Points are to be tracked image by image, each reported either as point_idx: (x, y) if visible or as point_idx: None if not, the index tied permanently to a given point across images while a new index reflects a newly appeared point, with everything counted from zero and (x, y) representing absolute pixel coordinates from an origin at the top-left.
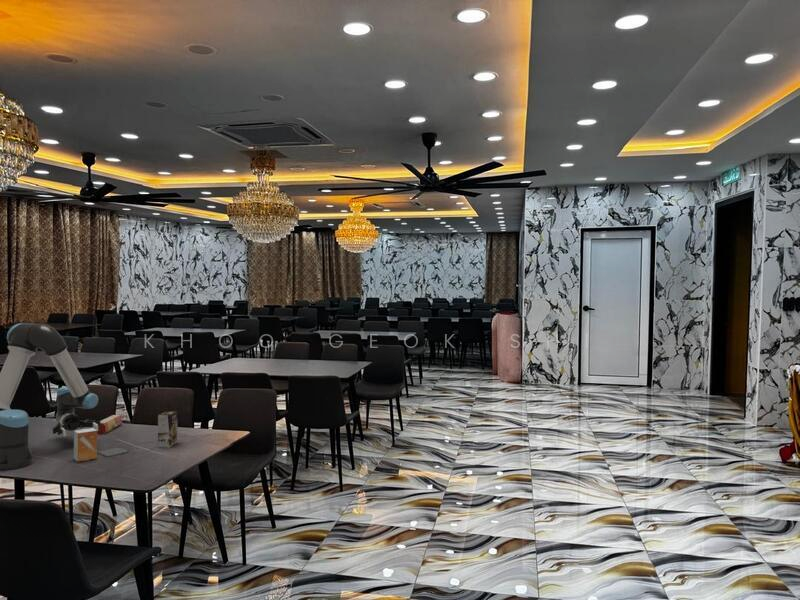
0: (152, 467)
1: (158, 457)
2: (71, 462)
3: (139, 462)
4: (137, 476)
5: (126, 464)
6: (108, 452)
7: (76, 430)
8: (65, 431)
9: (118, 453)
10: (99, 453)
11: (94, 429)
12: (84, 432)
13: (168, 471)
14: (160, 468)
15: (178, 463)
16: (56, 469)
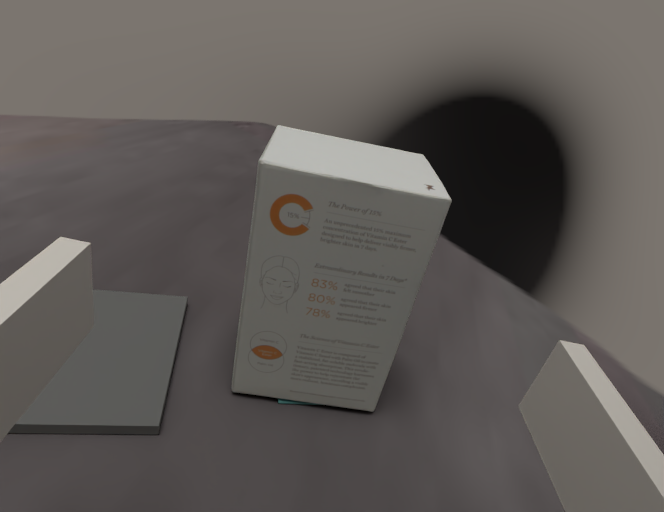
0: (169, 151)
1: (42, 175)
2: (397, 362)
3: (151, 186)
4: (253, 147)
5: (203, 200)
6: (119, 349)
7: (430, 190)
8: (553, 356)
9: (101, 291)
10: (166, 395)
11: (280, 137)
12: (375, 145)
13: (169, 125)
14: (161, 139)
15: (83, 128)
16: (475, 318)
